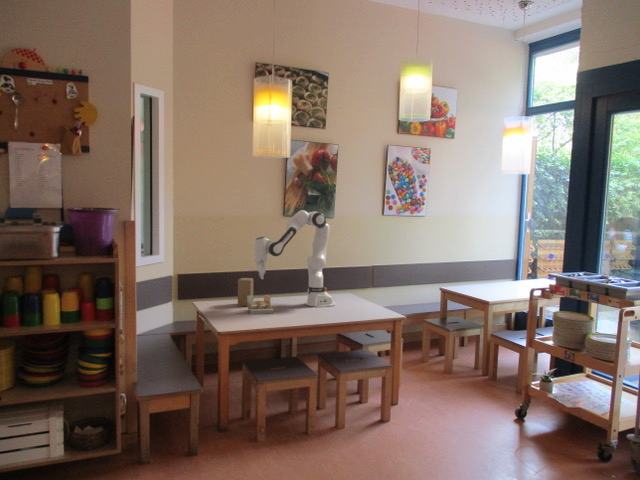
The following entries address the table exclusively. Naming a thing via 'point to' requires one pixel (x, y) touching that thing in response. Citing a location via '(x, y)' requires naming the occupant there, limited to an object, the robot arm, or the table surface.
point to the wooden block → (244, 290)
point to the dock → (261, 310)
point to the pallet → (258, 304)
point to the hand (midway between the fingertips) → (261, 277)
